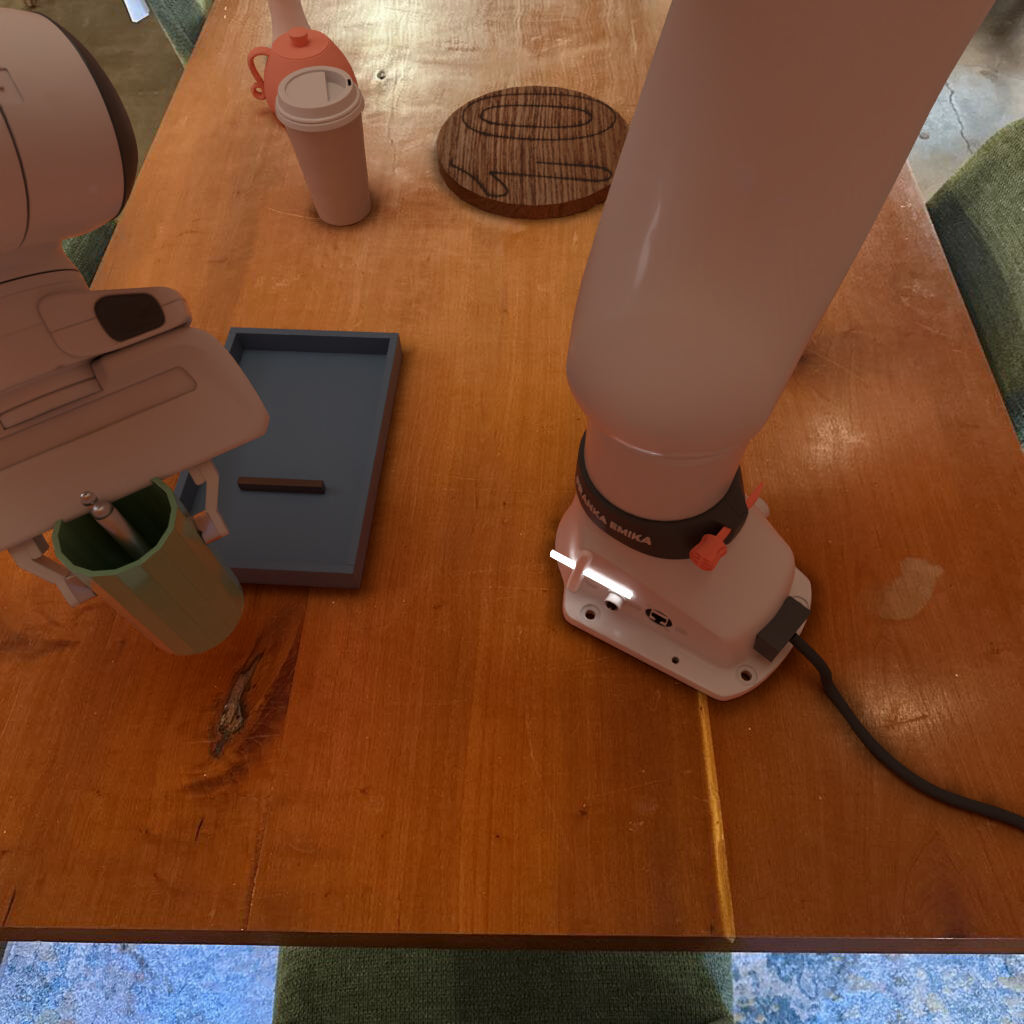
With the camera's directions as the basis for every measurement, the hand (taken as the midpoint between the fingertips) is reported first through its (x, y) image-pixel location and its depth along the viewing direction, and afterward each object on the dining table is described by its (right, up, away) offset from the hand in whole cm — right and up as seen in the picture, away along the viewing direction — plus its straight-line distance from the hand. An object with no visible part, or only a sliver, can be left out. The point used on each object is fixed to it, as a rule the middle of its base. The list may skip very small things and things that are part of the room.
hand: (154, 567), depth 46 cm
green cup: (0, -3, +6) cm, 7 cm away
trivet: (+25, +49, +52) cm, 76 cm away
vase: (-10, +70, +65) cm, 96 cm away
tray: (0, +9, +28) cm, 29 cm away
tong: (-1, -2, +6) cm, 7 cm away
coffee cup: (+1, +40, +47) cm, 62 cm away
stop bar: (0, +6, +25) cm, 26 cm away
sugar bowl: (-6, +58, +58) cm, 82 cm away
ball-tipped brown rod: (+1, -4, +6) cm, 7 cm away
